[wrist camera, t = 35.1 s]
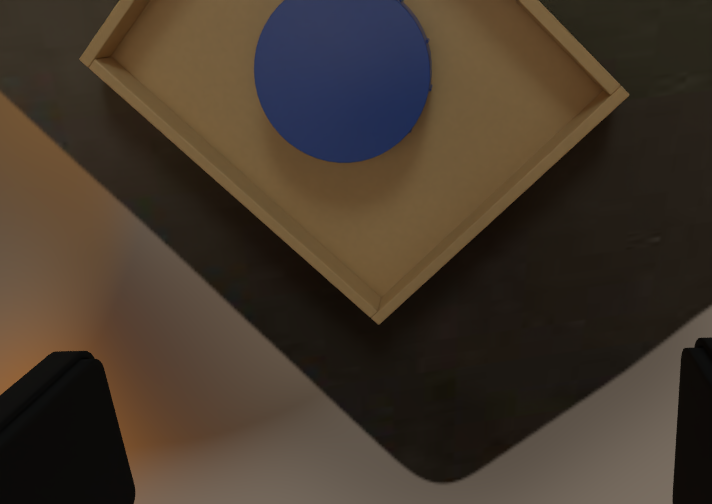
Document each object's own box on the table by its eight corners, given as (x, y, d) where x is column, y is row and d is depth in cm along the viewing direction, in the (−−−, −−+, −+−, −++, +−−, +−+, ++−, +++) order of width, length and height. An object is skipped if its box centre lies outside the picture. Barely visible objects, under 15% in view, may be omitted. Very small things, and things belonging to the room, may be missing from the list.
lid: (254, -11, 27) (240, -11, 25) (426, -30, 26) (424, -32, 24) (278, 158, 30) (267, 168, 28) (437, 147, 28) (435, 157, 27)
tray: (618, 88, 27) (630, 95, 25) (383, 306, 32) (378, 325, 30) (304, -237, 25) (291, -255, 23) (101, 55, 29) (78, 59, 28)
